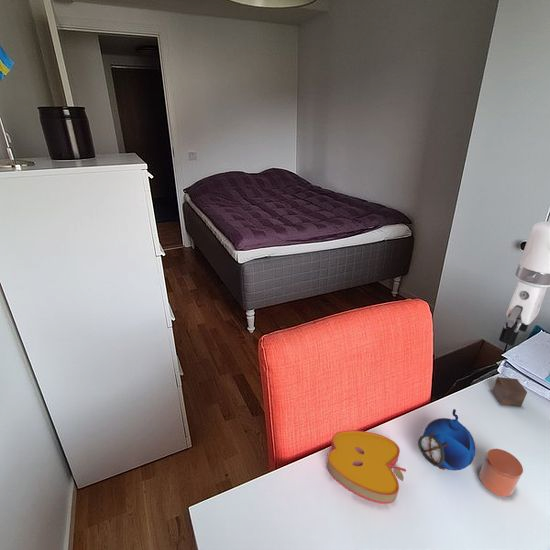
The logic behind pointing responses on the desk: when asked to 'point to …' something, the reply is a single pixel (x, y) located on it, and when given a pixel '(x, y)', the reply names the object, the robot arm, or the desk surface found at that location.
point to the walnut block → (509, 392)
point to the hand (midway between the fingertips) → (512, 335)
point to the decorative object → (366, 465)
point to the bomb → (447, 444)
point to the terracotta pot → (500, 472)
